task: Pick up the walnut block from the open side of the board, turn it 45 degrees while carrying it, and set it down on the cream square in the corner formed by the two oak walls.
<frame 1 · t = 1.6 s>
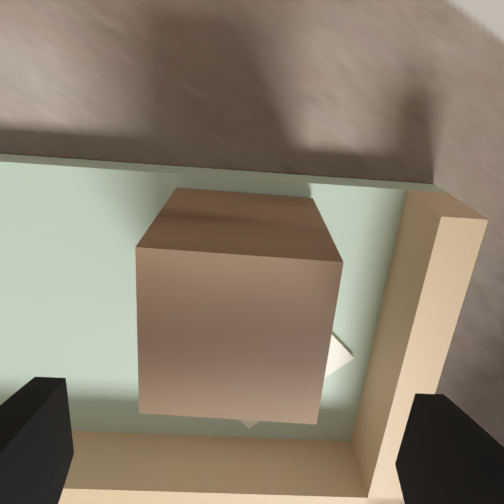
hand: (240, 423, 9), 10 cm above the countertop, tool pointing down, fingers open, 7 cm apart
corner board: (189, 322, 20), on the countertop
walnut block: (240, 256, 17), point 1 cm above the countertop, touching corner board
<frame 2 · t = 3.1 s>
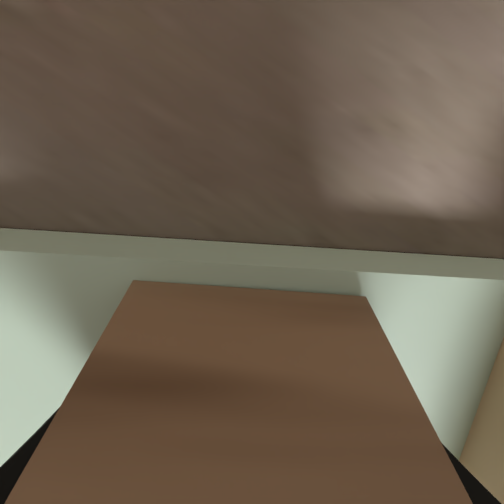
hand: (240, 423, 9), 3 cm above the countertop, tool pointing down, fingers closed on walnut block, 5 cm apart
corner board: (164, 456, 13), on the countertop
walnut block: (242, 383, 10), point 1 cm above the countertop, touching corner board, gripper
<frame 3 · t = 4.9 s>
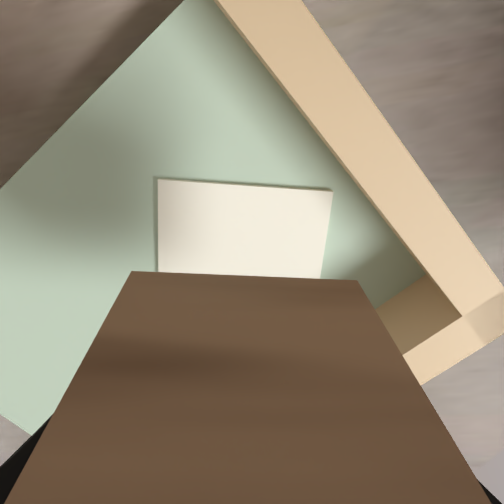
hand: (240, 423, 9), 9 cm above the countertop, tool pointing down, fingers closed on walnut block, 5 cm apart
corner board: (177, 285, 18), on the countertop
walnut block: (240, 369, 11), point 7 cm above the countertop, touching gripper
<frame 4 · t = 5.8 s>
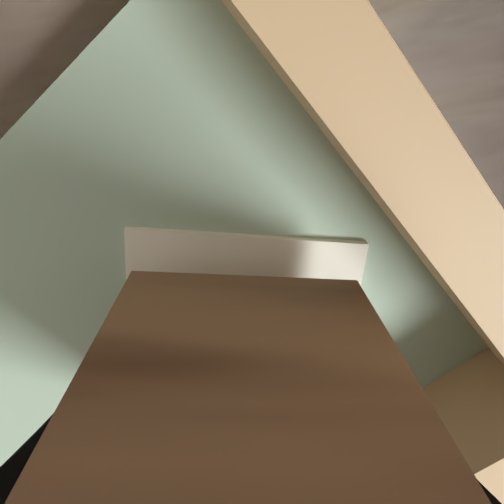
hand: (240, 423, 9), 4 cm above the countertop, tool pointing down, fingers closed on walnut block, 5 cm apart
corner board: (157, 356, 14), on the countertop
walnut block: (240, 369, 11), point 3 cm above the countertop, touching gripper
when the fingers open (4 cm above the countertop, at t = 6.6 s): walnut block drops 1 cm, resting on corner board.
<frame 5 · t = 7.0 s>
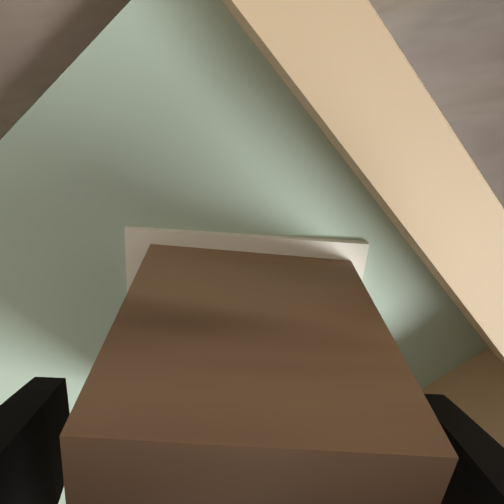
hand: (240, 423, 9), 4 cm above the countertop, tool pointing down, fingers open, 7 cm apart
corner board: (157, 356, 14), on the countertop
walnut block: (242, 336, 12), point 1 cm above the countertop, touching corner board
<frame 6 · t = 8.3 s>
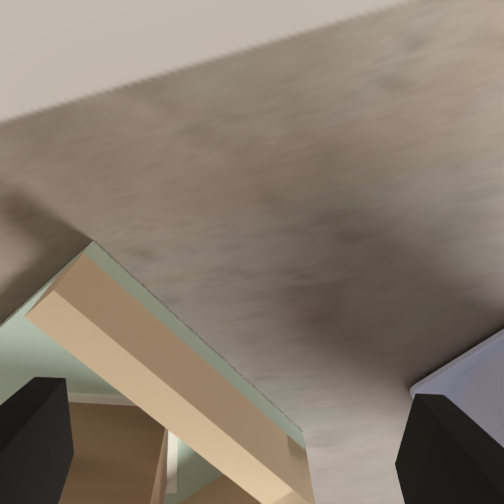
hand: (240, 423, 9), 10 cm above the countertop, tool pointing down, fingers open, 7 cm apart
corner board: (72, 448, 23), on the countertop
walnut block: (114, 445, 21), point 1 cm above the countertop, touching corner board
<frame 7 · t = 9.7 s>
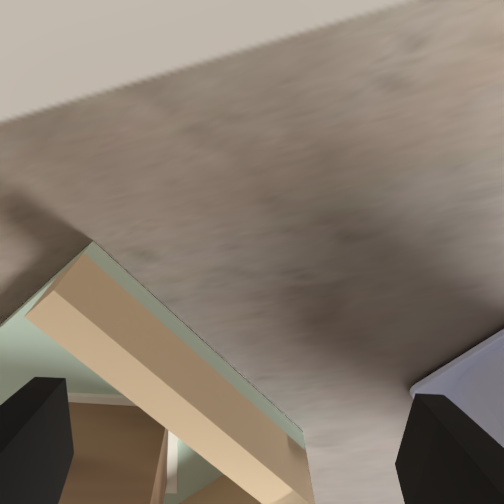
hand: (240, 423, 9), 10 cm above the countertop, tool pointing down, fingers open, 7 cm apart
corner board: (72, 448, 23), on the countertop
walnut block: (114, 445, 21), point 1 cm above the countertop, touching corner board
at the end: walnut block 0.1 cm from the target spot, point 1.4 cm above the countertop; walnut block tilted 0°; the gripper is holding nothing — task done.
